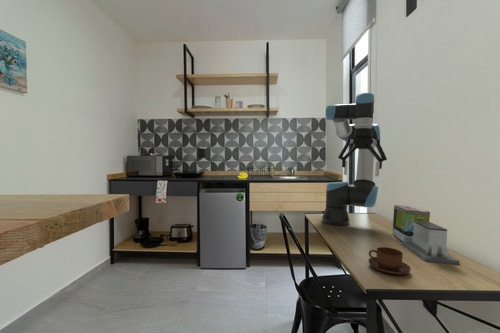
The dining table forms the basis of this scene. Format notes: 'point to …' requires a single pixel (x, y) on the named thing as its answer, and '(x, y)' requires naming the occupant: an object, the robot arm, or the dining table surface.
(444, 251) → the pin tray
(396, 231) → the tea box
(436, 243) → the block
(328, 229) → the dining table surface
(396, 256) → the cup and saucer
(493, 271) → the dining table surface
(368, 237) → the dining table surface
